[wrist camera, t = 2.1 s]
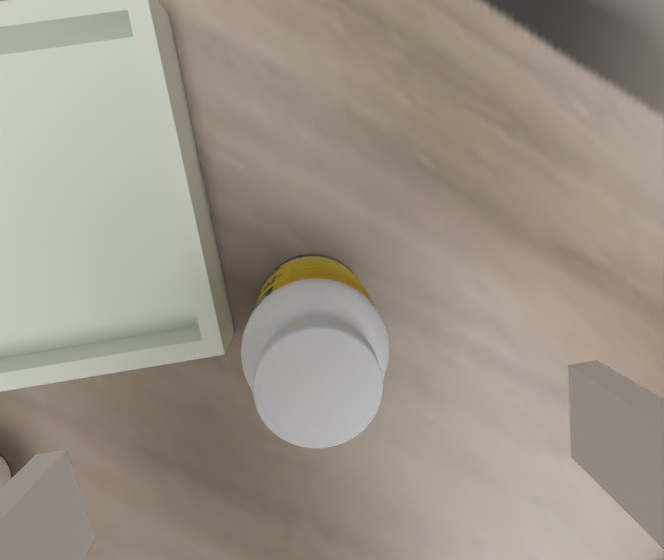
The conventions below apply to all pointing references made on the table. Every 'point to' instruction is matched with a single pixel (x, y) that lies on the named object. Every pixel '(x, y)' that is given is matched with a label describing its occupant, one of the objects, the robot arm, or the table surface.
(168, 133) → the tray
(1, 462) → the mug
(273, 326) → the pill bottle
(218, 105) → the table surface
